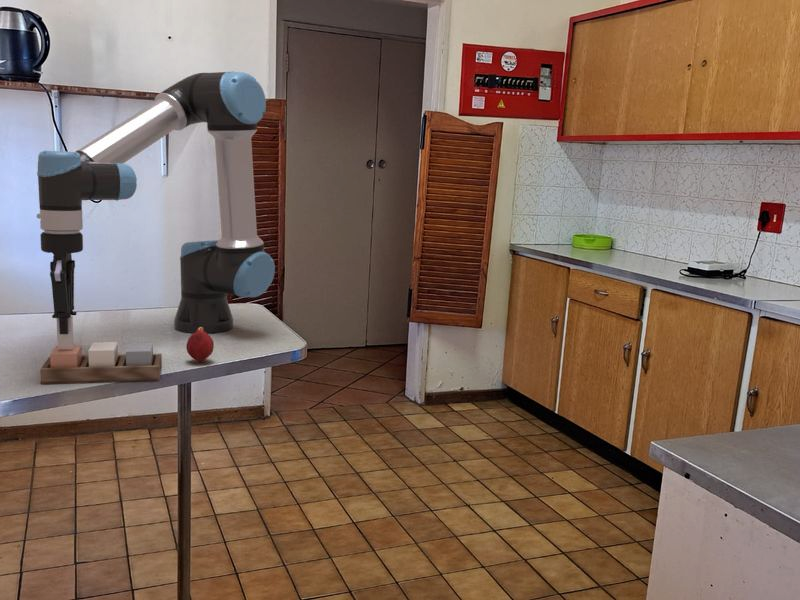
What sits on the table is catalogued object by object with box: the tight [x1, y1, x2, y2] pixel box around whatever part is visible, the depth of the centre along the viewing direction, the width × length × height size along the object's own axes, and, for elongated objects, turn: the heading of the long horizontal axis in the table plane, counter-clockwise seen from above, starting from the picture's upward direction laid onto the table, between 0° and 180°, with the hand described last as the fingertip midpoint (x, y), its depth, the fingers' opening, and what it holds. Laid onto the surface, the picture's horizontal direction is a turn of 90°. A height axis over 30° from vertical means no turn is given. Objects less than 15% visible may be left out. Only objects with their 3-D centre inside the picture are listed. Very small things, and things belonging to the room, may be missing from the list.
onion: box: [185, 327, 215, 363], centre depth 163 cm, size 6×6×8 cm
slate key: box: [125, 342, 154, 366], centre depth 153 cm, size 5×7×3 cm
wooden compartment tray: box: [39, 353, 163, 385], centre depth 151 cm, size 22×10×3 cm, turn 105°
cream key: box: [87, 341, 119, 367], centre depth 151 cm, size 5×7×3 cm
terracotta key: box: [49, 344, 83, 368], centre depth 149 cm, size 5×7×3 cm
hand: (65, 348), depth 149 cm, fingers closed
